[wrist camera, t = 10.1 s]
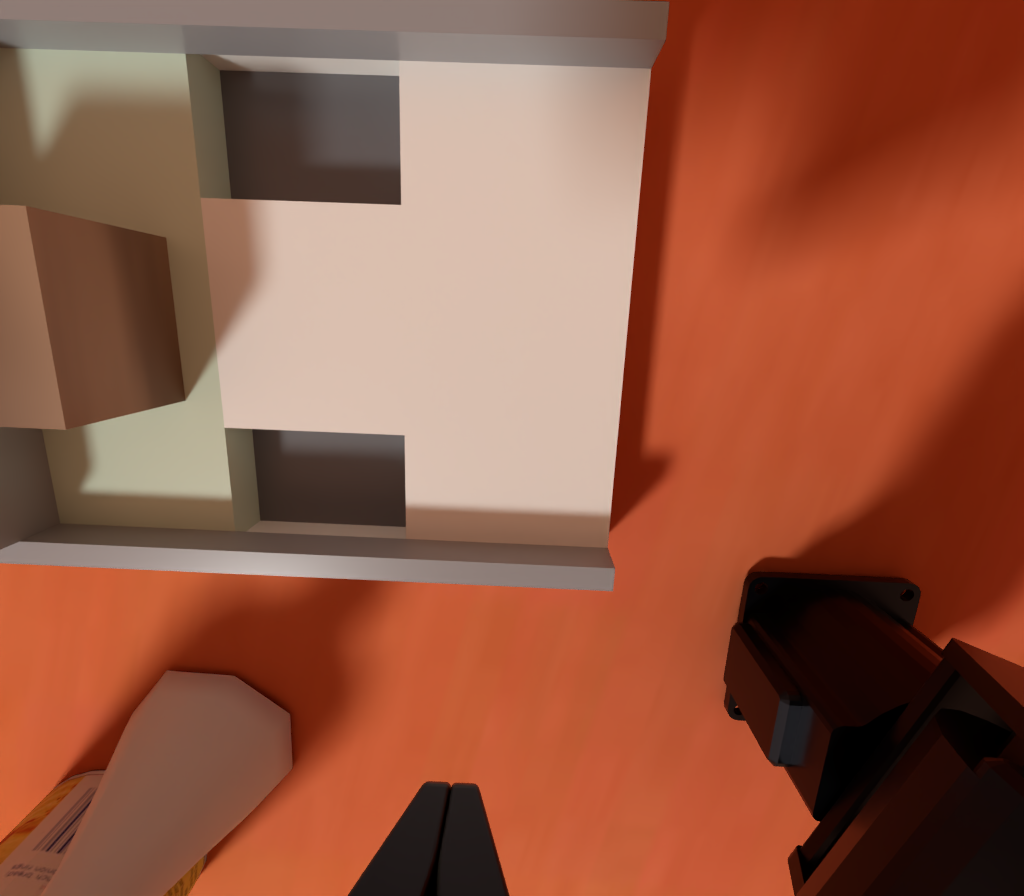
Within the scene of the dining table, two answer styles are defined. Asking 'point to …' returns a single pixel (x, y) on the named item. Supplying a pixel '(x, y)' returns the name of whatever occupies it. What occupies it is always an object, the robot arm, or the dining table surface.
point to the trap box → (344, 280)
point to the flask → (176, 785)
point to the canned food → (57, 840)
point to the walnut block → (83, 321)
